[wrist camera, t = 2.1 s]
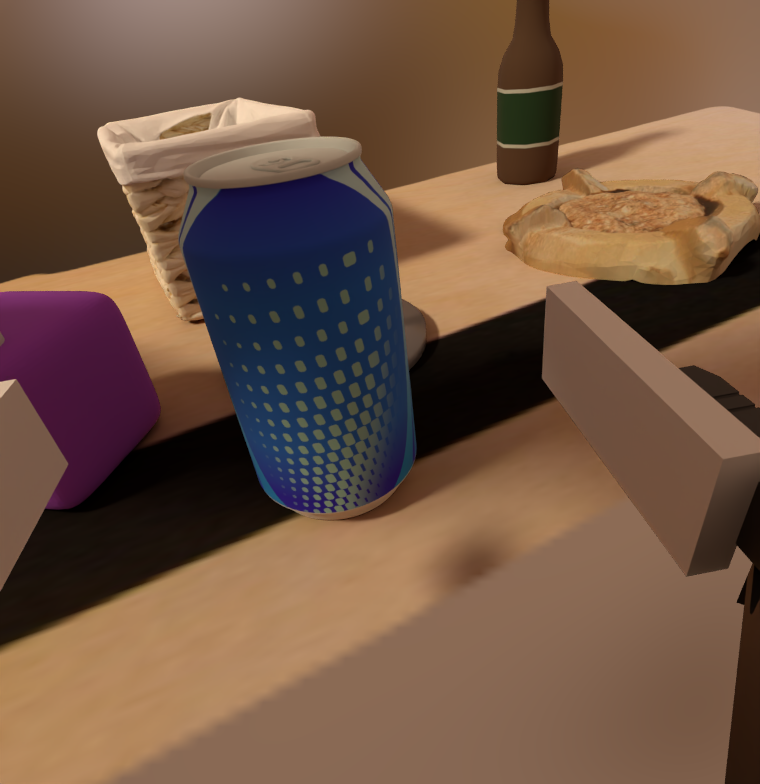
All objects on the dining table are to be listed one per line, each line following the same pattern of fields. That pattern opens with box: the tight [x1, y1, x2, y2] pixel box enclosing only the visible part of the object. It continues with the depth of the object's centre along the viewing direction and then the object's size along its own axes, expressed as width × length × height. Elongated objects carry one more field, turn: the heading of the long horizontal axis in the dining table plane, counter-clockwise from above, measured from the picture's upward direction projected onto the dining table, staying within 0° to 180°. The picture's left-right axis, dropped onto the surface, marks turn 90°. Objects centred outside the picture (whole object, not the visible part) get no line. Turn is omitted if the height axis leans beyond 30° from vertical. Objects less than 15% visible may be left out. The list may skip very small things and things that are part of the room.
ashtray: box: [503, 168, 760, 285], centre depth 50 cm, size 24×24×5 cm
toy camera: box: [0, 291, 161, 510], centre depth 30 cm, size 11×14×10 cm
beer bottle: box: [497, 0, 563, 185], centre depth 65 cm, size 8×8×24 cm
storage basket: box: [98, 98, 320, 321], centre depth 52 cm, size 24×16×15 cm
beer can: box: [178, 137, 417, 520], centre depth 24 cm, size 8×8×16 cm
